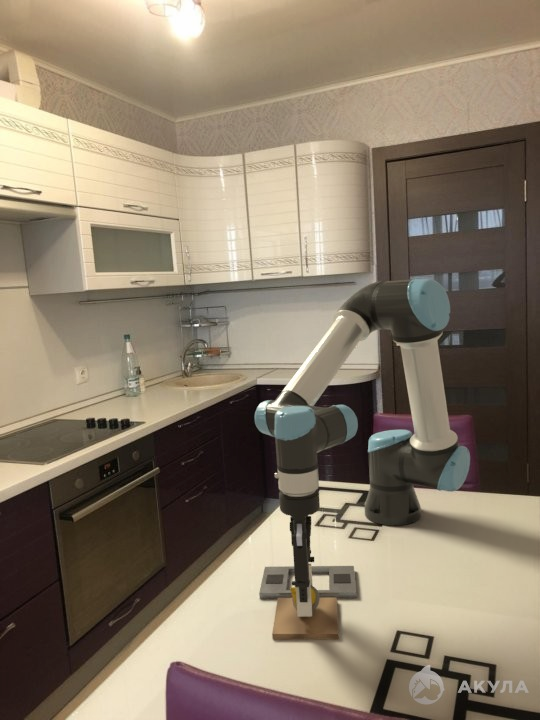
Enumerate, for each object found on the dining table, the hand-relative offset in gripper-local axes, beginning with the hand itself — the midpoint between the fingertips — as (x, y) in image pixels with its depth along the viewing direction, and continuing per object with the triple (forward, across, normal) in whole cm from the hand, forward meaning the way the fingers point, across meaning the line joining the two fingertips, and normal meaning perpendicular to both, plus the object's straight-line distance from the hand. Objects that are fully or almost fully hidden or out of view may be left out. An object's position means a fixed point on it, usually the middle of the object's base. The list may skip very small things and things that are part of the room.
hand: (305, 604), depth 108 cm
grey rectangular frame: (+3, -13, 0) cm, 13 cm away
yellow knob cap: (+2, 0, 0) cm, 2 cm away
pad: (+3, 0, 0) cm, 3 cm away
